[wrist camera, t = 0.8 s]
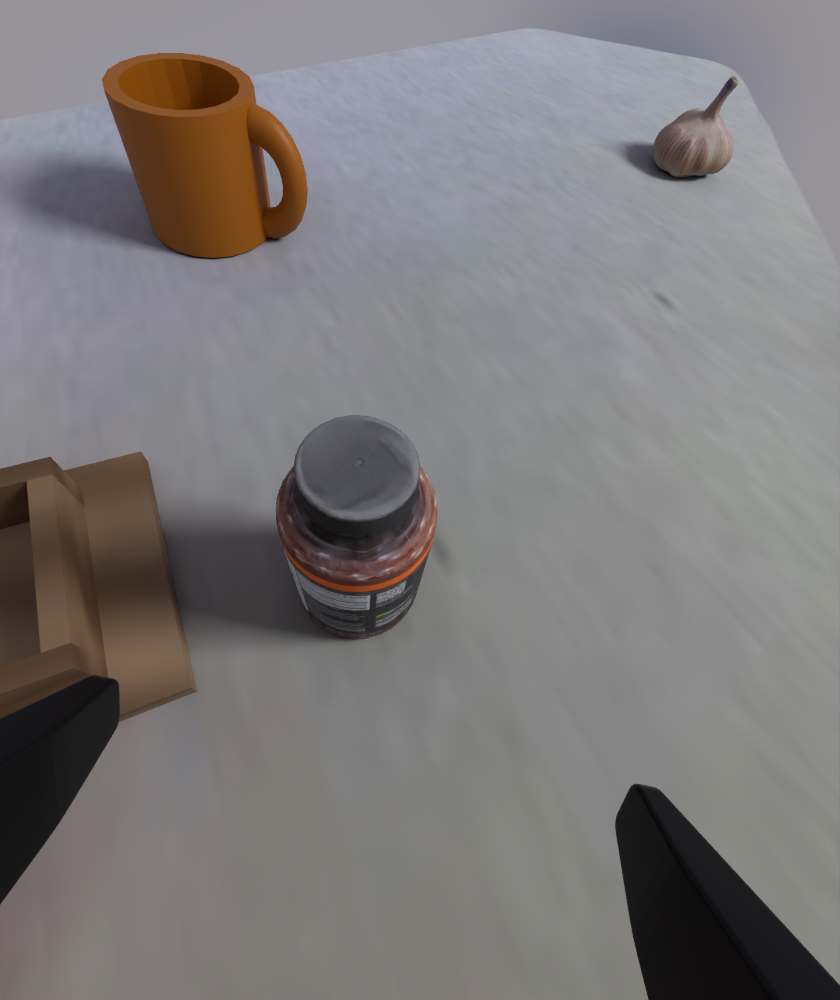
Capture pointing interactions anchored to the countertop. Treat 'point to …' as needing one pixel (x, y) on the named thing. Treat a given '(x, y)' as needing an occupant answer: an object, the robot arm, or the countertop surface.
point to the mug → (204, 153)
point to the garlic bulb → (696, 140)
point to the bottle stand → (87, 585)
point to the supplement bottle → (356, 525)
